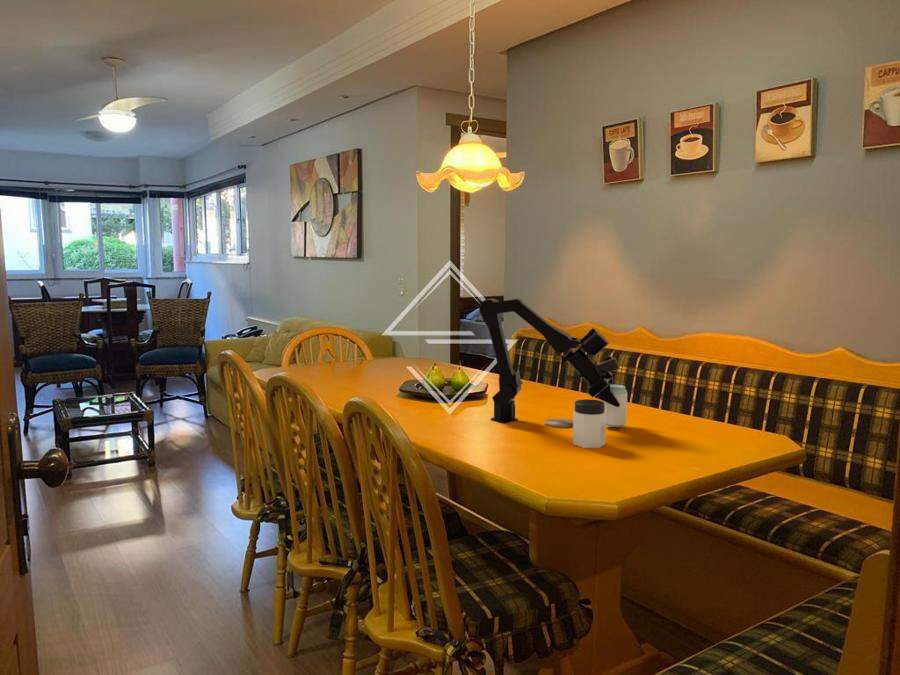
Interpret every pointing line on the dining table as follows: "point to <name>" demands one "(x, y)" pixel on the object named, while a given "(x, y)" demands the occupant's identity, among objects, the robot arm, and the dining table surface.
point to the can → (617, 414)
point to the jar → (589, 423)
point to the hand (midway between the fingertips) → (619, 403)
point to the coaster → (559, 422)
